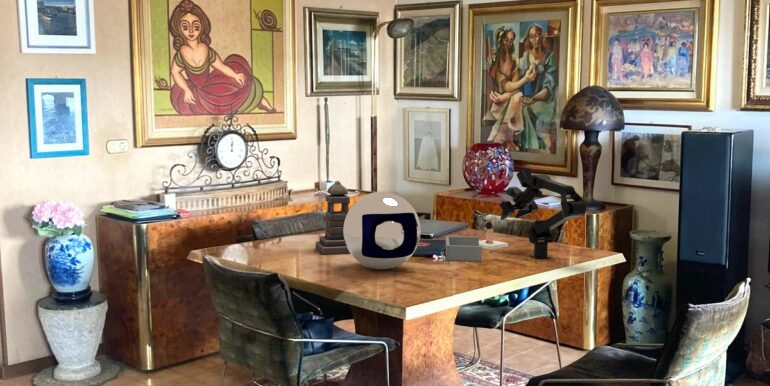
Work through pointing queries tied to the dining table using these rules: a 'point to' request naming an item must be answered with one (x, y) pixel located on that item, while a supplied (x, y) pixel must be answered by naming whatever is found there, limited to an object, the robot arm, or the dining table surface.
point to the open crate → (463, 248)
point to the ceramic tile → (492, 246)
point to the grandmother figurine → (489, 229)
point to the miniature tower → (335, 222)
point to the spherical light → (381, 230)
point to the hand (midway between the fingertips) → (508, 218)
